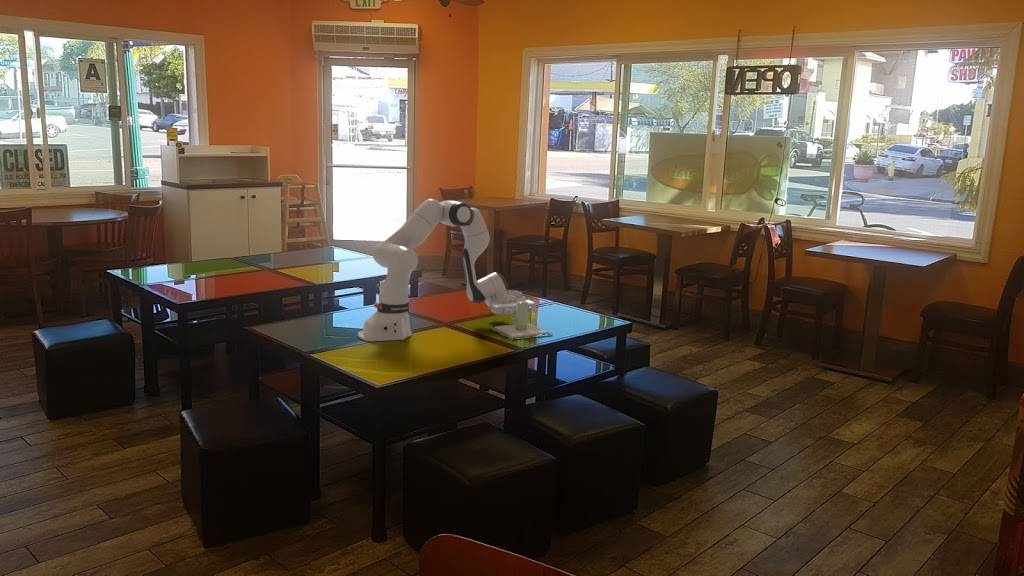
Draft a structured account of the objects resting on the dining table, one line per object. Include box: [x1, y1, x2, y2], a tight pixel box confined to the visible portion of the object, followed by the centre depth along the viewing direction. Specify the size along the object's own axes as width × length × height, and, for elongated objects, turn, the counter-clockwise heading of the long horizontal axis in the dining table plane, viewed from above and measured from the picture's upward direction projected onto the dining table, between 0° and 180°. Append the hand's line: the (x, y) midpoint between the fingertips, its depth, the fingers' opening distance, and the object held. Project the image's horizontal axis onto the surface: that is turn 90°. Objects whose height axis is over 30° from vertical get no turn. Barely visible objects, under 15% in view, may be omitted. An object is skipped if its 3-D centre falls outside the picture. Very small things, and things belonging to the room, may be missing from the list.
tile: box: [490, 322, 552, 340], centre depth 346 cm, size 20×20×2 cm
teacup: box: [507, 289, 523, 297], centre depth 395 cm, size 15×12×8 cm
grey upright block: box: [514, 301, 529, 331], centre depth 344 cm, size 5×5×12 cm
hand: (521, 311), depth 344 cm, fingers open, 8 cm apart
